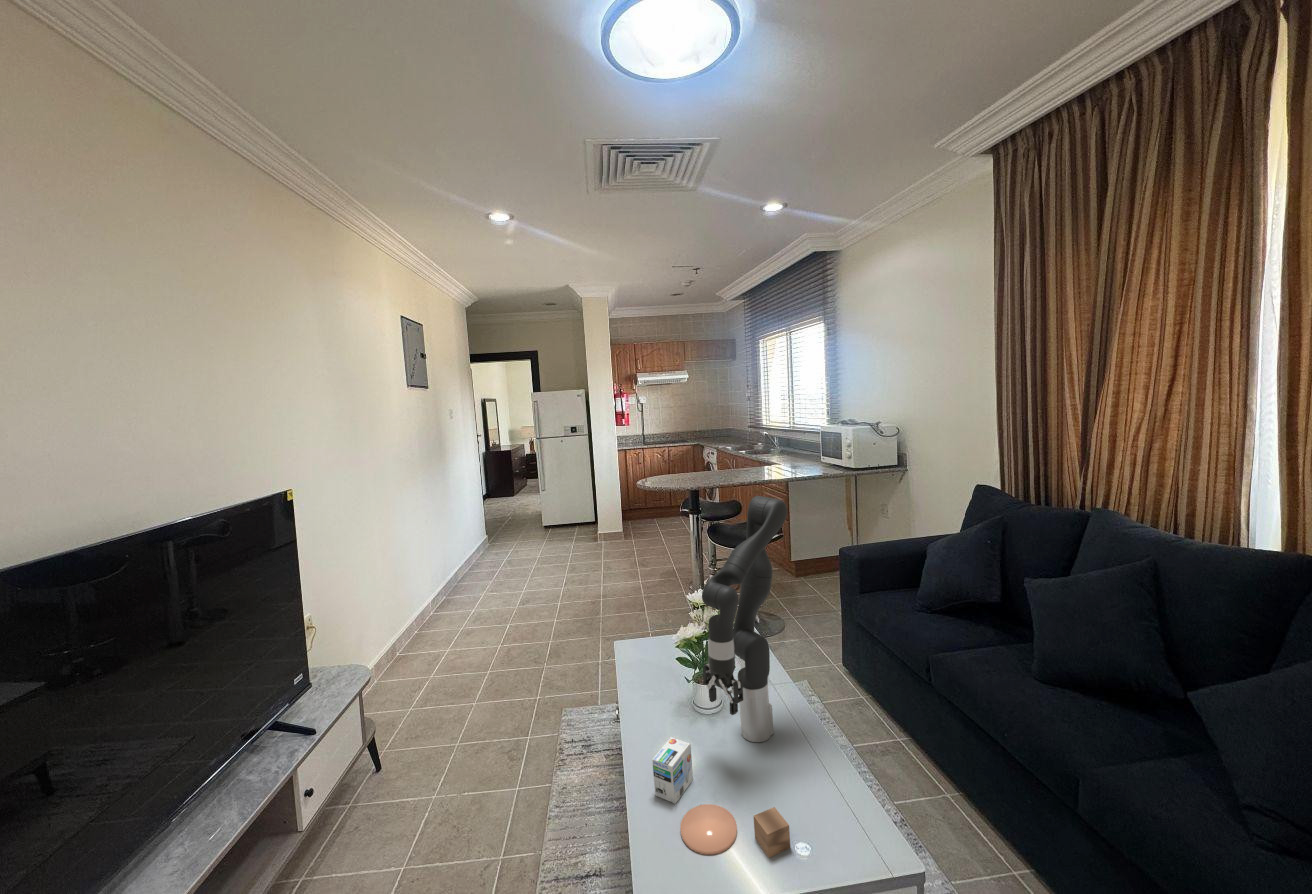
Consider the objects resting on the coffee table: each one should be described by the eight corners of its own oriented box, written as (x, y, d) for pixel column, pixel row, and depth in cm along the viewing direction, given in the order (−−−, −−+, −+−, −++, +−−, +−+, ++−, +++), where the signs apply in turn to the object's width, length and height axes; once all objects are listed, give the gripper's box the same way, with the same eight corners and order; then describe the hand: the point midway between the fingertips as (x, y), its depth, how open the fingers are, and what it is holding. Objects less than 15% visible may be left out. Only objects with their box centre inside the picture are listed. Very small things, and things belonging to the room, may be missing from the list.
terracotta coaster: (720, 800, 138) (720, 797, 138) (747, 841, 125) (747, 837, 125) (672, 819, 133) (671, 816, 133) (695, 863, 120) (695, 859, 120)
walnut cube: (775, 829, 128) (774, 806, 127) (790, 848, 122) (789, 825, 122) (754, 838, 126) (753, 815, 125) (768, 858, 120) (767, 834, 120)
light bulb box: (675, 804, 138) (672, 767, 137) (654, 796, 142) (651, 759, 141) (694, 778, 147) (691, 742, 146) (673, 770, 151) (670, 736, 150)
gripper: (748, 657, 145) (750, 713, 146) (714, 640, 157) (715, 692, 158) (729, 666, 141) (731, 723, 142) (695, 648, 152) (697, 701, 153)
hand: (723, 707), depth 150 cm, fingers open, 8 cm apart
